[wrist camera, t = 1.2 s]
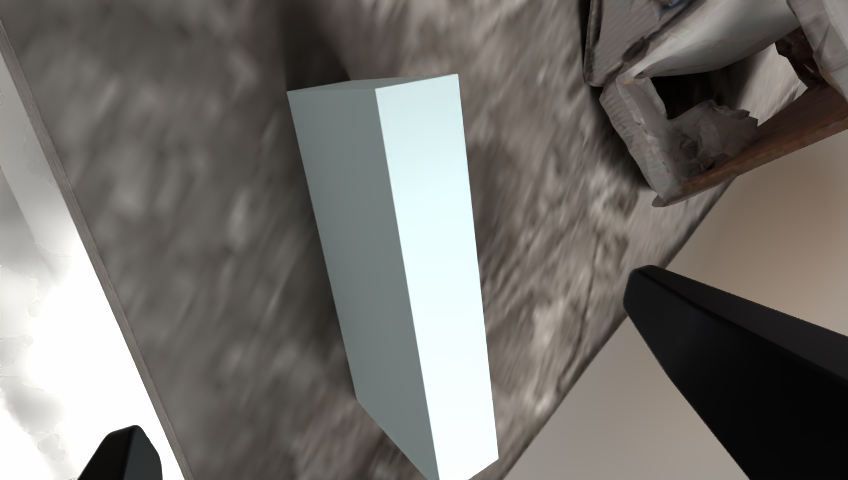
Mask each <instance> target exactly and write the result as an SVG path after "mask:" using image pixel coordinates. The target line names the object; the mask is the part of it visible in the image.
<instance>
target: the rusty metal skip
mask: <svg viewBox="0 0 848 480" xmlns="http://www.w3.org/2000/svg"><path fill="white" fill-rule="evenodd" d="M774 42H775V45H776V49H777V52H778V54H779V55H782V56H784V57H786V58H787V59H788V60H789V62H790V64H791V65H792V67H793V69H794V71H795V72H796V74H797V76H798V78H799V79H800V80H801V81H802V82H803V83H804V84H805V85H806V86H807V87H808V88H807V89H806V90H805V92H804V93H803V94H802V95H801V96H799V97H798V98H797V99H796V100H794V101H793V102H792V103H790V104H789V105H788V106H787V107H785V108H784V109H782V110H781V111H780V112H778V113H777V114H775V115H774V116H772V117H771V118H770V119H768V120H767V121H765V122H764V123H762V124H761V125H759V126H758V127H757V124H758V119H756V118H753V117H750V116H749V113H750V112H749V111H747V110H744V109H743V110H730V109H729V108H728V107H727V105H725V106H717V105H716V103H715V102H714V100H713V99H712V100H707V101H703V102H701V103H699V104H698V105H696V106H695V107H693V108H691V109H690V110H688V111H686V112H685V113H683V114H682V115H680V116H678V117H677V118H675V119H671V120H668V118H667V114H666V109H665V106H664V102H663V101H662V100H661V98H660V97H659V95H658V94H657V92H656V88H655V87H654V86H653V84H652V82H651V80H650V78H651V77H653V76H672V75H684V74H692V73H701V72H707V71H711V70H716V69H720V68H723V67H725V66H727V65H729V64H732V63H734V62H736V61H739V60H741V59H743V58H745V57H748V56H750V55H752V54H755V53H757V52H759V51H761V50H764V49H765V48H767V47H768V46H770V45H771V44H773V43H774ZM583 74H584V77H585V83H587V84H589V85H592V86H604V88H603V91H602V94H601V96H600V99H599V100H600V103H601V105H602V106H603V108H604V109H605V111H606V113H607V114H608V116H609V118H610V121H611V123H612V125H613V127H614V128H615V130H616V131H617V132H618V134H619V135H620V136H621V138H622V139H623V141H624V142H625V143H626V145H627V147H628V150H629V153H630V154H631V155H632V157H633V158H634V159H635V161H636V162H637V163H638V165H639V167H640V169H641V171H642V173H643V175H644V177H645V178H646V180H647V182H648V183H649V185H650V187H651V189H652V190H653V191H655V192H656V193H657V194H658V195H657V197H656V198H655V199H654V200H653V202H652V206H654V207H665V206H669V205H673V204H676V203H679V202H681V201H684V200H686V199H688V198H690V197H693V196H695V195H697V194H699V193H701V192H704V191H706V190H708V189H710V188H712V187H715V186H717V185H719V184H721V183H723V182H726V181H728V180H730V179H732V178H734V177H737V176H739V175H741V174H743V173H745V172H747V171H750V170H752V169H754V168H756V167H759V166H761V165H763V164H766V163H768V162H770V161H773V160H775V159H777V158H780V157H782V156H784V155H787V154H789V153H791V152H794V151H796V150H798V149H801V148H804V147H806V146H808V145H811V144H813V143H815V142H818V141H820V140H822V139H825V138H827V137H830V136H832V135H834V134H837V133H839V132H841V131H844V130H846V129H848V0H591V5H590V13H589V21H588V29H587V39H586V49H585V59H584V68H583Z"/></svg>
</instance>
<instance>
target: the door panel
mask: <svg viewBox="0 0 848 480" xmlns="http://www.w3.org/2000/svg"><path fill="white" fill-rule="evenodd" d="M287 96H288V100H289V105H290V109H291V114H292V118H293V122H294V127H295V131H296V135H297V140H298V144H299V149H300V153H301V157H302V162H303V166H304V170H305V175H306V179H307V184H308V188H309V192H310V197H311V201H312V205H313V210H314V214H315V219H316V223H317V227H318V232H319V236H320V241H321V245H322V249H323V254H324V258H325V262H326V267H327V271H328V276H329V280H330V284H331V289H332V293H333V297H334V302H335V306H336V311H337V315H338V319H339V324H340V328H341V333H342V337H343V341H344V346H345V350H346V354H347V359H348V363H349V368H350V372H351V376H352V381H353V385H354V389H355V394H356V398H357V401H358V402H359V403H360V405H361V406H362V407H363V408H364V409H365V410H366V411H367V412H368V414H369V415H370V416H371V417H372V418H373V419H374V420H375V421H376V423H377V424H378V425H379V426H380V427H381V428H382V429H383V430H384V432H385V433H386V434H387V435H388V436H389V437H390V438H391V439H392V441H393V442H394V443H395V444H396V445H397V446H398V447H399V448H400V450H401V451H402V452H403V453H404V454H405V455H406V456H407V457H408V459H409V460H410V461H411V462H412V463H413V464H414V465H415V466H416V468H417V469H418V470H419V471H420V472H421V473H422V474H423V475H424V477H425V478H426V479H427V480H468V479H469V478H471V477H472V476H474V475H475V474H477V473H478V472H480V471H481V470H483V469H484V468H485V467H487V466H488V465H490V464H491V463H493V462H494V461H496V460H497V459H498V450H497V441H496V432H495V422H494V413H493V403H492V394H491V384H490V375H489V366H488V356H487V347H486V337H485V328H484V318H483V309H482V300H481V290H480V281H479V271H478V262H477V252H476V243H475V233H474V224H473V215H472V205H471V196H470V186H469V177H468V167H467V158H466V149H465V139H464V130H463V120H462V111H461V101H460V92H459V82H458V74H447V75H431V76H415V77H400V78H384V79H369V80H353V81H346V82H340V83H334V84H328V85H322V86H316V87H311V88H305V89H299V90H293V91H287Z"/></svg>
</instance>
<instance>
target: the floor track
mask: <svg viewBox="0 0 848 480" xmlns="http://www.w3.org/2000/svg"><path fill="white" fill-rule="evenodd" d="M135 424H136V425H139V426H141V427H142V429H143V430H144V431H145V433H146V434H147V436H148V437H149V439H150V441H151V442H152V444H153V445H154V447H155V448H156V450H157V451H158V453H159V455H160V459H161V463H162V472H163V480H194V479H193V476H192V474H191V472H190V469H189V467H188V464H187V462H186V460H185V457H184V455H183V452H182V450H181V448H180V445H179V443H178V441H177V438H176V436H175V433H174V431H173V429H172V426H171V424H170V422H169V419H168V417H167V414H166V412H165V410H164V407H163V405H162V402H161V400H160V398H159V395H158V393H157V391H156V388H155V386H154V383H153V381H152V379H151V376H150V374H149V372H148V369H147V367H146V364H145V362H144V360H143V357H142V355H141V352H140V350H139V348H138V345H137V343H136V341H135V338H134V336H133V333H132V331H131V329H130V326H129V324H128V322H127V319H126V317H125V314H124V312H123V310H122V307H121V305H120V302H119V300H118V298H117V295H116V293H115V291H114V288H113V286H112V283H111V281H110V279H109V276H108V274H107V272H106V269H105V267H104V264H103V262H102V260H101V257H100V255H99V252H98V250H97V248H96V245H95V243H94V241H93V238H92V236H91V233H90V231H89V229H88V226H87V224H86V222H85V219H84V217H83V214H82V212H81V210H80V207H79V205H78V202H77V200H76V198H75V195H74V193H73V191H72V188H71V186H70V183H69V181H68V179H67V176H66V174H65V172H64V169H63V167H62V164H61V162H60V160H59V157H58V155H57V152H56V150H55V148H54V145H53V143H52V141H51V138H50V136H49V133H48V131H47V129H46V126H45V124H44V122H43V119H42V117H41V114H40V112H39V110H38V107H37V105H36V102H35V100H34V98H33V95H32V93H31V91H30V88H29V86H28V83H27V81H26V79H25V76H24V74H23V72H22V69H21V67H20V64H19V62H18V60H17V57H16V55H15V52H14V50H13V48H12V45H11V43H10V41H9V38H8V36H7V33H6V31H5V29H4V26H3V24H2V22H1V19H0V480H77V479H78V477H79V475H80V474H81V472H82V471H83V469H84V468H85V466H86V465H87V463H88V462H89V460H90V458H91V457H92V455H93V454H94V452H95V451H96V449H97V448H98V446H99V444H100V443H101V441H102V440H103V438H104V437H105V436H106V435H107V434H108V433H110V432H112V431H114V430H118V429H121V428H124V427H127V426H130V425H135Z"/></svg>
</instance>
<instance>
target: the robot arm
mask: <svg viewBox="0 0 848 480" xmlns="http://www.w3.org/2000/svg"><path fill="white" fill-rule="evenodd" d="M623 307H624V309H625V311H626V313H627V315H628V316H629V318H630V319H631V320H632V322H633V324H634V326H635V327H636V329H637V330H638V332H639V333H640V335H641V336H642V338H643V339H644V341H645V342H646V344H647V346H648V347H649V349H650V350H651V352H652V353H653V355H654V356H655V358H656V359H657V361H658V362H659V364H660V366H661V367H662V369H663V370H664V371H665V373H666V374H667V375H668V377H669V378H670V380H671V381H672V382H673V384H674V385H675V386H676V387H677V389H678V390H679V391H680V393H681V394H682V395H683V396H684V397H685V399H686V400H687V401H688V403H689V404H690V405H691V406H692V408H693V409H694V410H695V411H696V413H697V414H698V415H699V416H700V418H701V419H702V420H703V422H704V423H705V424H706V425H707V426H708V428H709V429H710V430H711V432H712V433H713V434H714V435H715V437H716V438H717V439H718V441H719V442H720V443H721V444H722V446H723V447H724V448H725V449H726V450H727V452H728V453H729V454H730V456H731V457H732V458H733V459H734V461H735V462H736V463H737V465H738V466H739V467H740V468H741V469H742V471H743V472H744V473H745V475H746V476H747V477H748V478H749V480H848V336H845V335H842V334H839V333H837V332H834V331H831V330H829V329H826V328H823V327H821V326H818V325H815V324H812V323H810V322H807V321H804V320H801V319H799V318H796V317H793V316H790V315H788V314H785V313H783V312H780V311H777V310H774V309H771V308H769V307H766V306H763V305H760V304H758V303H755V302H753V301H750V300H747V299H744V298H742V297H739V296H736V295H734V294H731V293H728V292H725V291H722V290H720V289H717V288H714V287H711V286H709V285H706V284H704V283H701V282H698V281H695V280H693V279H690V278H687V277H684V276H682V275H679V274H676V273H674V272H671V271H668V270H666V269H663V268H660V267H657V266H654V265H646V266H643V267H639V268H636V269H634V270H632V271H631V272H630V274H629V277H628V281H627V284H626V288H625V292H624V295H623ZM77 480H163V472H162V463H161V459H160V455H159V453H158V451H157V450H156V448H155V447H154V445H153V444H152V442H151V441H150V439H149V437H148V436H147V434H146V433H145V431H144V430H143V429H142V427H141V426H139V425H136V424H135V425H130V426H127V427H124V428H121V429H118V430H114V431H112V432H110V433H108V434H107V435H106V436H105V437H104V438H103V440H102V441H101V443H100V444H99V446H98V448H97V449H96V451H95V452H94V454H93V455H92V457H91V458H90V460H89V462H88V463H87V465H86V466H85V468H84V469H83V471H82V472H81V474H80V475H79V477H78V479H77Z"/></svg>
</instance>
